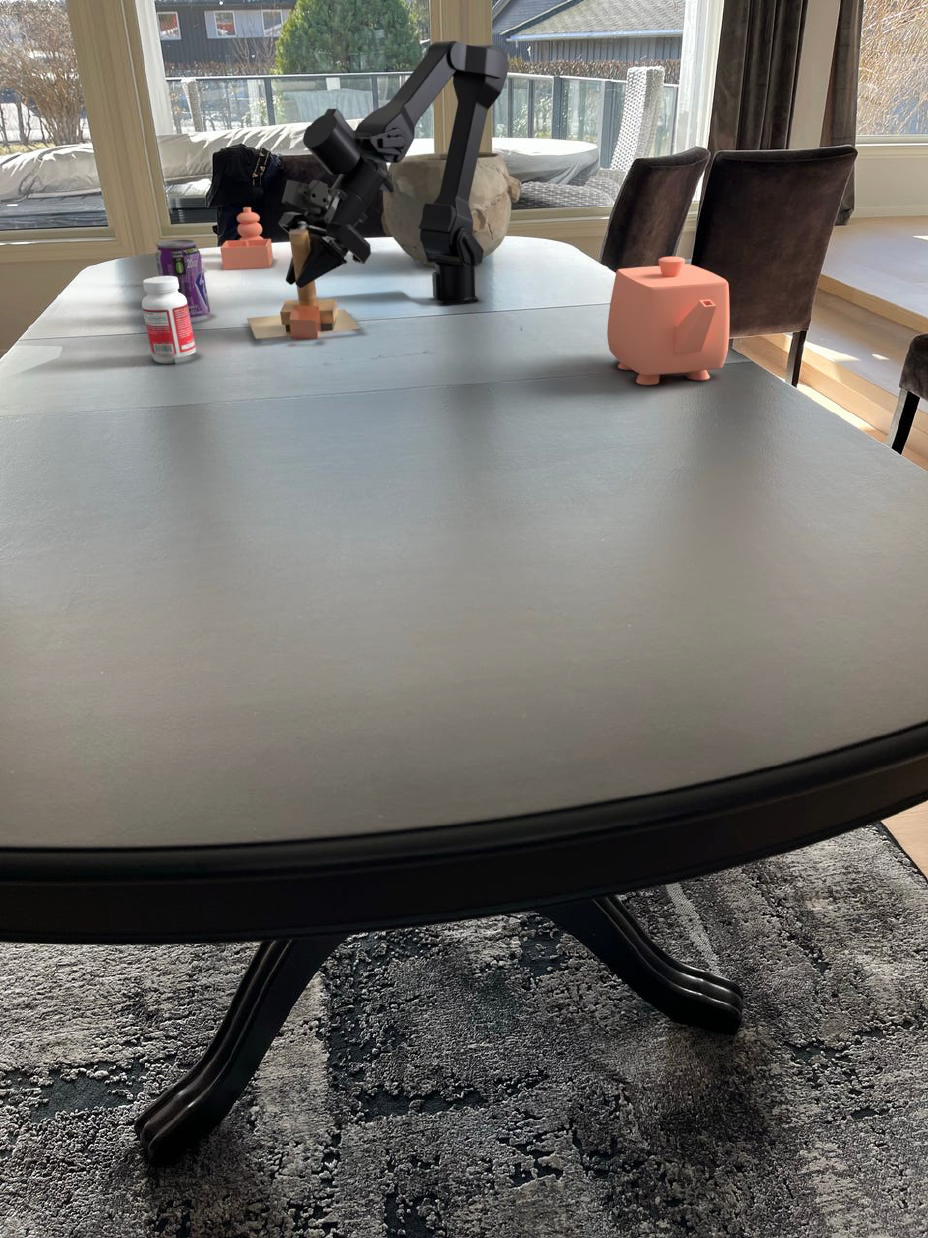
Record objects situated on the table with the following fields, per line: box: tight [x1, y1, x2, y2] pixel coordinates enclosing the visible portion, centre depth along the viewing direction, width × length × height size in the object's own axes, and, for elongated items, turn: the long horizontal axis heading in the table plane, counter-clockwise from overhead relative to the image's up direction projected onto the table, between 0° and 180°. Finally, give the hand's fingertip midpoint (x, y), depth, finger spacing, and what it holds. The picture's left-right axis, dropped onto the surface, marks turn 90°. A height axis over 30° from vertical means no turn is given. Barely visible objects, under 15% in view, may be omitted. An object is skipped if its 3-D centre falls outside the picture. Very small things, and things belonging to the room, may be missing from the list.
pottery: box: [220, 206, 274, 271], centre depth 200 cm, size 18×10×10 cm, turn 5°
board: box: [247, 308, 361, 340], centre depth 149 cm, size 16×14×1 cm
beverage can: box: [155, 238, 211, 319], centre depth 155 cm, size 7×7×12 cm
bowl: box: [380, 151, 522, 268], centre depth 188 cm, size 27×29×20 cm
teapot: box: [606, 256, 731, 386], centre depth 120 cm, size 22×13×14 cm, turn 12°
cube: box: [289, 305, 322, 340], centre depth 141 cm, size 4×4×4 cm
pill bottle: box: [141, 275, 197, 365], centre depth 133 cm, size 6×6×11 cm
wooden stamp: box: [279, 229, 339, 332], centre depth 141 cm, size 8×5×14 cm, turn 89°
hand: (292, 284), depth 140 cm, fingers closed on wooden stamp, 3 cm apart
